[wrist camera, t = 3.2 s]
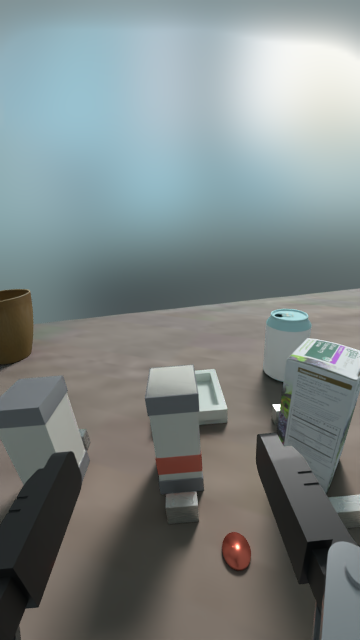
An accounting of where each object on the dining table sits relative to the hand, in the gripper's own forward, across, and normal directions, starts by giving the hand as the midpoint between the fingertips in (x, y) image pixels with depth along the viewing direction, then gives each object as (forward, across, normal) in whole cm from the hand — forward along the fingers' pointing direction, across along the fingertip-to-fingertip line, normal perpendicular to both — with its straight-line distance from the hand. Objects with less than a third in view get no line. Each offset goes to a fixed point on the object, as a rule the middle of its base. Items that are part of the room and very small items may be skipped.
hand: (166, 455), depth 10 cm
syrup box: (+11, -15, +18) cm, 26 cm away
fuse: (+11, +14, +17) cm, 25 cm away
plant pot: (+44, +41, +16) cm, 63 cm away
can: (+28, -20, +17) cm, 39 cm away
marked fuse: (+11, 0, +17) cm, 21 cm away
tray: (+23, -2, +17) cm, 29 cm away
